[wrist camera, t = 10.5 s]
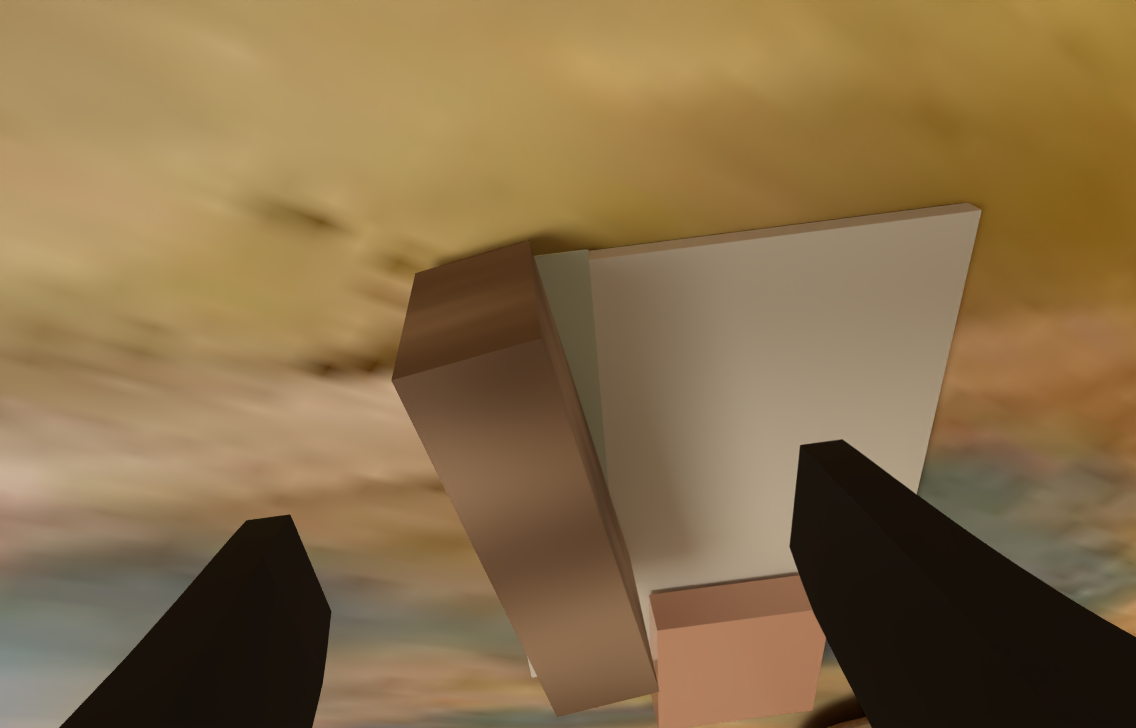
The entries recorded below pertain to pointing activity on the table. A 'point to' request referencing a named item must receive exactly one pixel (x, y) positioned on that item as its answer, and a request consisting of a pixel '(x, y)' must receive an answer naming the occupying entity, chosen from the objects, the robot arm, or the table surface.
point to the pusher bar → (524, 473)
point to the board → (754, 374)
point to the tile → (734, 652)
